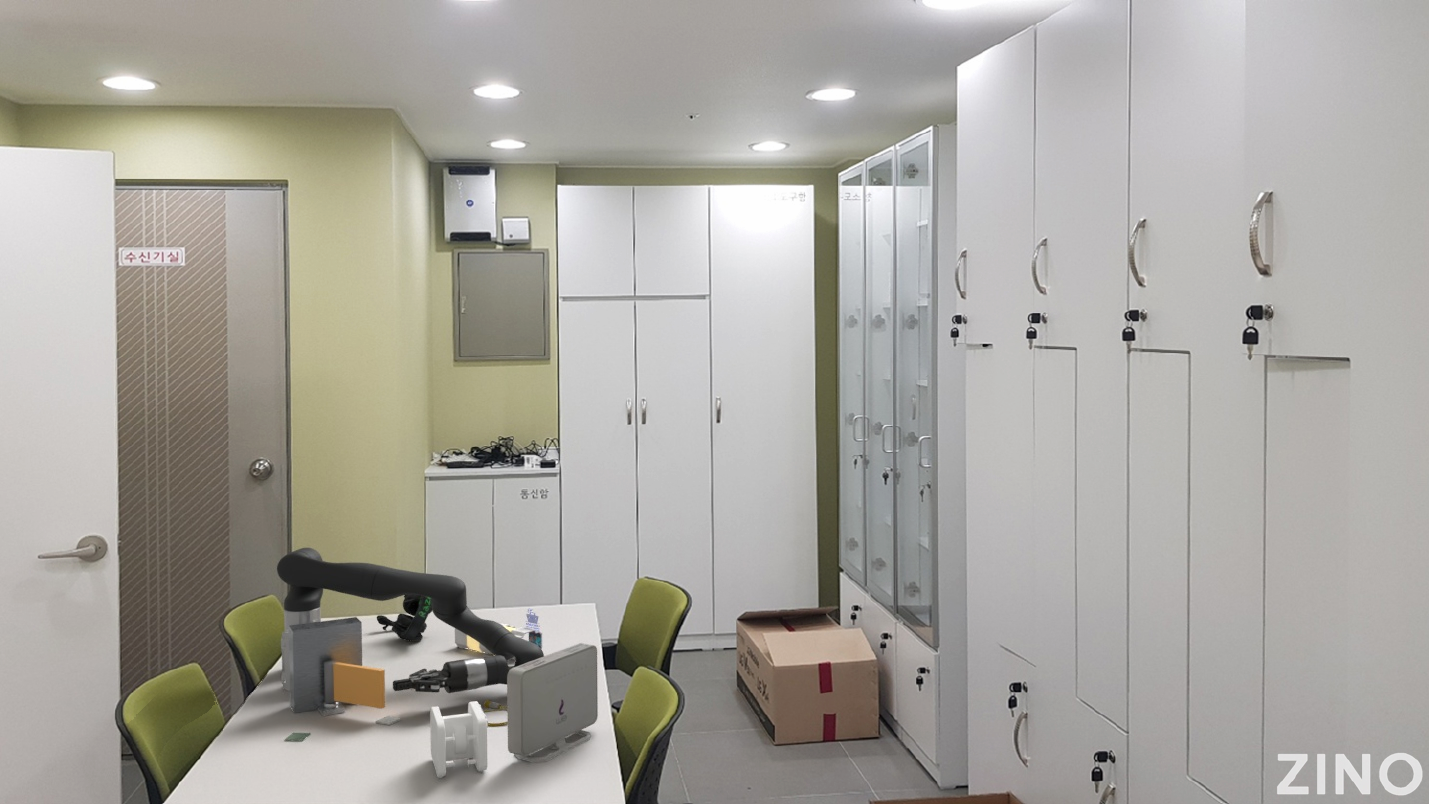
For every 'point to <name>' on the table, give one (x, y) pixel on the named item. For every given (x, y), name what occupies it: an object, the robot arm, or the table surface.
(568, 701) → the network device
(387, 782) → the table surface
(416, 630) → the headset
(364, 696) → the orange rectangular panel
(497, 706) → the extension cord
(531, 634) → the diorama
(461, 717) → the cable organizer
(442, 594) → the robot arm
